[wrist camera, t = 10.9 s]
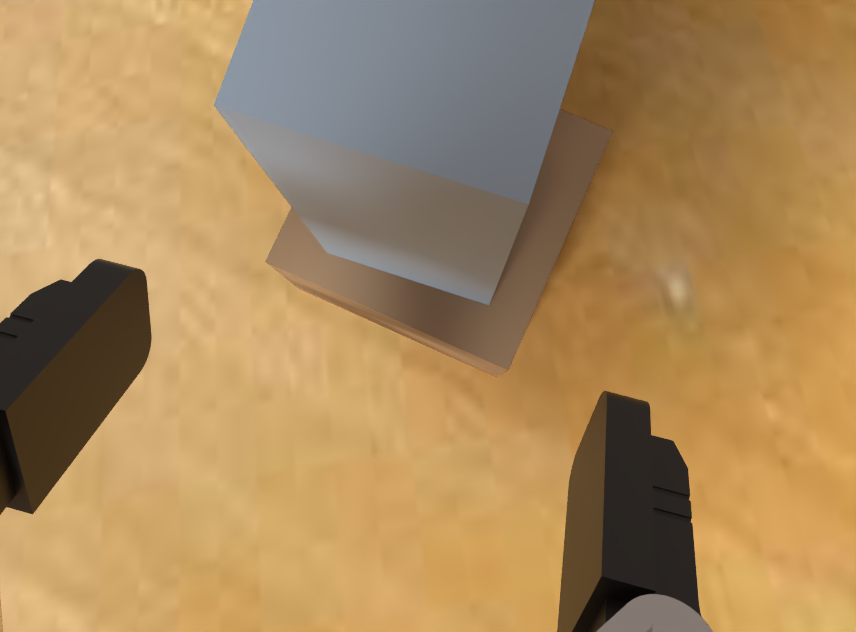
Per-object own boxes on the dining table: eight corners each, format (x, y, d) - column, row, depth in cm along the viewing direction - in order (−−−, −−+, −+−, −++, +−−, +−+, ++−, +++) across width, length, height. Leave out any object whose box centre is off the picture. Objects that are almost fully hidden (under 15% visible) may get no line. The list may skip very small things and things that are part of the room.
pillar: (327, 252, 21) (213, 105, 11) (381, 97, 21) (322, -183, 11) (489, 305, 20) (528, 204, 10) (540, 147, 21) (626, -96, 11)
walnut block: (300, 289, 26) (265, 262, 21) (388, 102, 26) (375, 31, 21) (495, 377, 25) (508, 370, 20) (580, 184, 26) (613, 131, 21)
